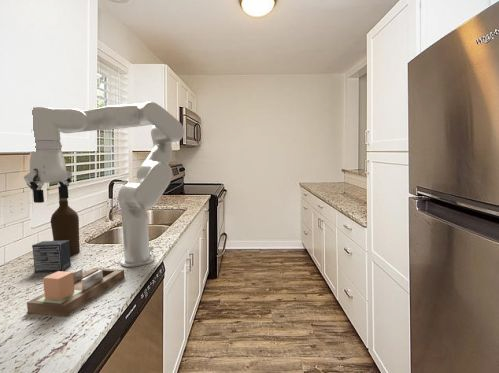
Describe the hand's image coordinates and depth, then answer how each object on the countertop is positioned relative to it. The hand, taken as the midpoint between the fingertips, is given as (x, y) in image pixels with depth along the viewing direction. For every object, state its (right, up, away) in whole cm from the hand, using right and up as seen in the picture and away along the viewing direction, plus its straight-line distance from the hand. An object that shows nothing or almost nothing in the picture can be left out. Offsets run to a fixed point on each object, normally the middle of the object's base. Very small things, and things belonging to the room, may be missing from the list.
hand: (52, 200), depth 100 cm
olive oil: (-17, -25, +37) cm, 48 cm away
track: (+12, -29, -5) cm, 32 cm away
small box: (-11, -27, +17) cm, 34 cm away
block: (+11, -26, -13) cm, 31 cm away
